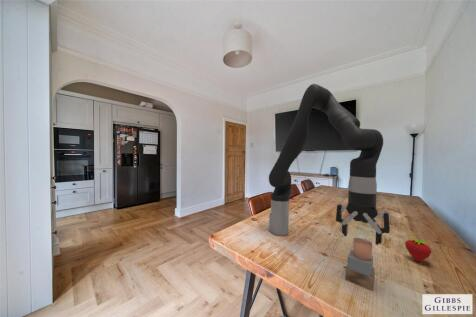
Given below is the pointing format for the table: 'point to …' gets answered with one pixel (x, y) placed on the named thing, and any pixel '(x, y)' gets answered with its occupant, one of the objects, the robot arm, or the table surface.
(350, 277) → the tower base
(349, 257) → the tower middle
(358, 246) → the terracotta cylinder
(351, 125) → the robot arm
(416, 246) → the strawberry
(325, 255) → the table surface
